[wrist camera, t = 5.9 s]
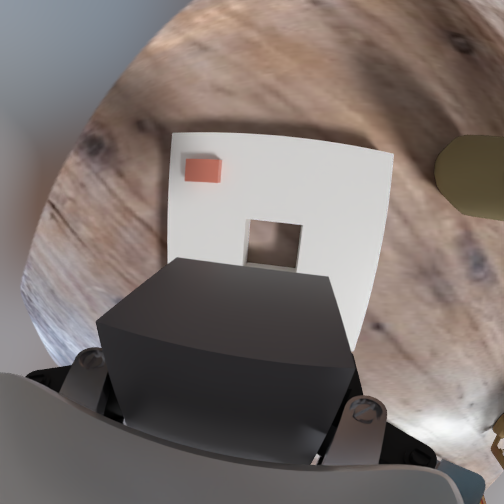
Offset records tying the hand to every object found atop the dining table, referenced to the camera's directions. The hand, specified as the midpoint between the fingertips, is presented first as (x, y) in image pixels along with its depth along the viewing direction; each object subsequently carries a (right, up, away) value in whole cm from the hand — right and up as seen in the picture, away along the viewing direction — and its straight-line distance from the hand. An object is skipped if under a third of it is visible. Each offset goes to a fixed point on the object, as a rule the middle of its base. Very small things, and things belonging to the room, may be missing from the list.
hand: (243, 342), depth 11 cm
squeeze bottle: (+22, +12, +12) cm, 28 cm away
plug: (0, 0, +3) cm, 3 cm away
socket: (+2, +5, +17) cm, 17 cm away
